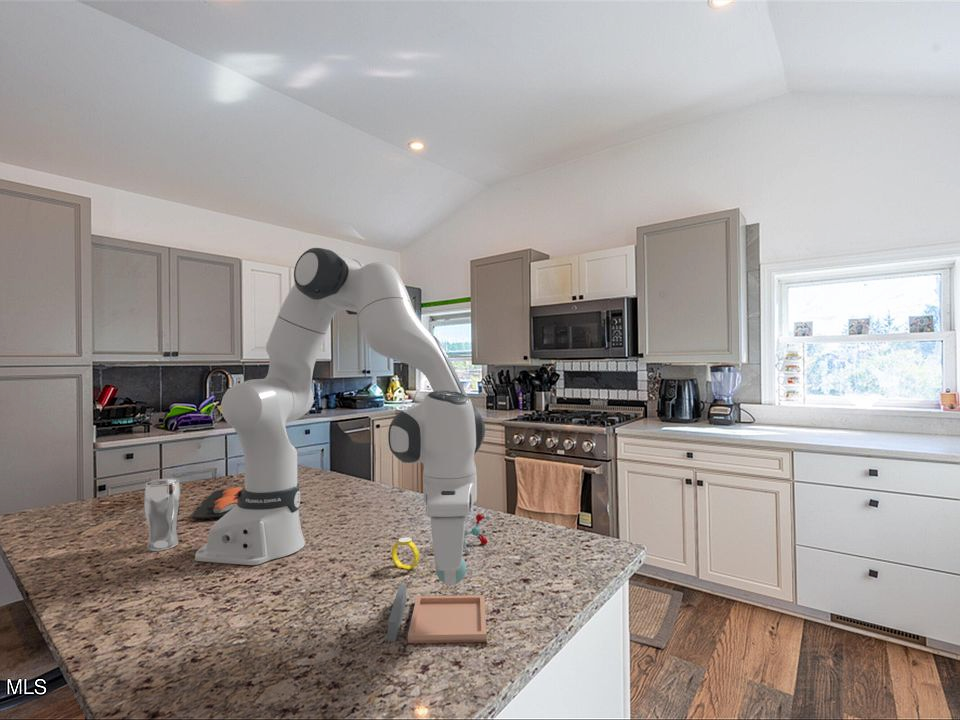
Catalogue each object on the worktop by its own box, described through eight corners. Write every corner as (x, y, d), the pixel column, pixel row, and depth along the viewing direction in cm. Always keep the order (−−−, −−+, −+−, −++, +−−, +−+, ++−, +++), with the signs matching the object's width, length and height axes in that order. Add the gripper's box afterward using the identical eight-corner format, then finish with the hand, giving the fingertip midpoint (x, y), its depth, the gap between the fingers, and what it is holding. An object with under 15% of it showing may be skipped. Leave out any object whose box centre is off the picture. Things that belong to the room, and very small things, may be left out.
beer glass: (187, 543, 112) (187, 479, 112) (156, 554, 106) (156, 487, 106) (168, 538, 115) (168, 476, 115) (137, 549, 109) (137, 483, 109)
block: (387, 641, 73) (387, 621, 73) (399, 601, 85) (399, 584, 85) (395, 641, 73) (395, 621, 73) (406, 601, 85) (406, 584, 85)
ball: (435, 591, 76) (434, 559, 76) (437, 577, 81) (436, 547, 81) (466, 590, 76) (466, 558, 76) (466, 576, 81) (466, 546, 81)
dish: (407, 643, 72) (407, 635, 72) (416, 602, 84) (416, 596, 84) (486, 642, 72) (486, 634, 72) (484, 601, 84) (484, 595, 84)
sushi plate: (214, 495, 154) (214, 483, 154) (312, 488, 163) (312, 476, 163) (189, 525, 126) (189, 511, 126) (309, 514, 135) (309, 500, 135)
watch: (390, 569, 99) (388, 540, 99) (398, 564, 101) (396, 535, 101) (414, 572, 96) (412, 542, 96) (421, 567, 98) (420, 538, 99)
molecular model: (485, 544, 102) (467, 500, 106) (448, 563, 103) (432, 519, 107) (501, 541, 112) (485, 501, 116) (467, 558, 114) (452, 518, 118)
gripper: (435, 475, 89) (436, 549, 89) (425, 509, 68) (426, 605, 68) (469, 474, 89) (469, 548, 89) (469, 508, 68) (470, 604, 68)
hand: (451, 573), depth 78 cm, fingers closed on ball, 5 cm apart
